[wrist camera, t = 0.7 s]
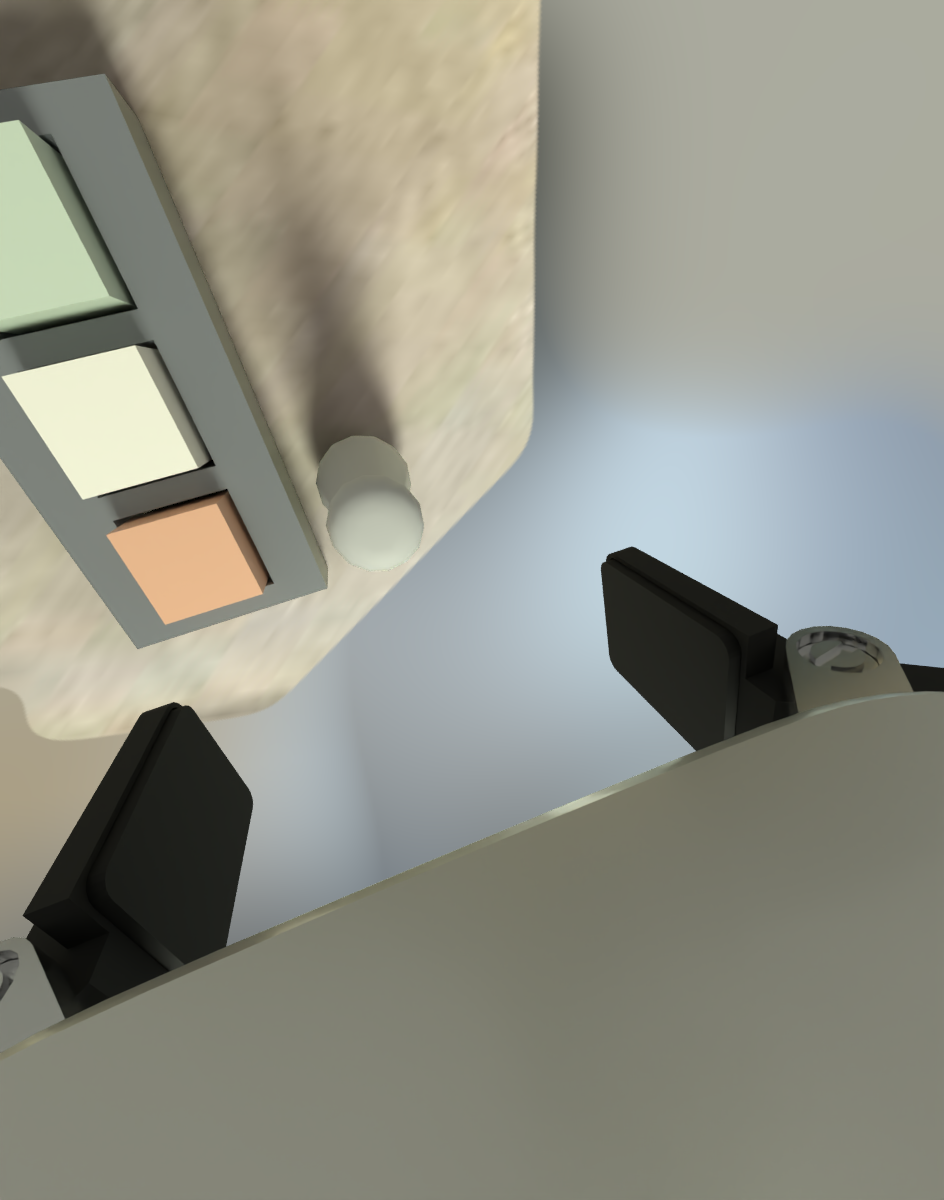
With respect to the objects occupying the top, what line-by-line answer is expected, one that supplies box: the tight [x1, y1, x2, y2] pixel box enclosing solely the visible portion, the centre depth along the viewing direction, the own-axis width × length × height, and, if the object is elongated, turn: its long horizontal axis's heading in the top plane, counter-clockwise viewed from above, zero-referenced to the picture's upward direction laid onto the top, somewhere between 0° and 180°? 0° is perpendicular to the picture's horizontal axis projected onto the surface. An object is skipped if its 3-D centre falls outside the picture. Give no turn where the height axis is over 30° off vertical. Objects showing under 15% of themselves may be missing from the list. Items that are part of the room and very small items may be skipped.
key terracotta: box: [106, 490, 269, 625], centre depth 27 cm, size 6×6×4 cm
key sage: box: [0, 120, 138, 335], centre depth 19 cm, size 6×6×4 cm
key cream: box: [2, 345, 212, 499], centre depth 23 cm, size 6×6×4 cm
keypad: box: [0, 74, 328, 649], centre depth 25 cm, size 24×12×4 cm, turn 12°
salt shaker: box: [316, 436, 424, 571], centre depth 25 cm, size 6×6×13 cm
